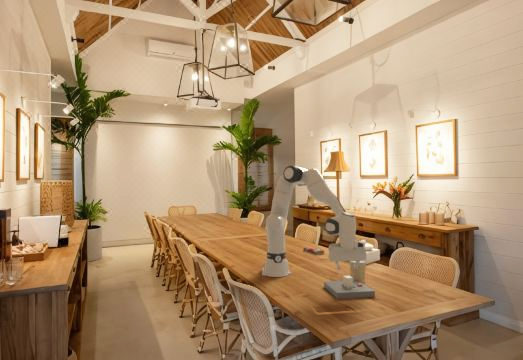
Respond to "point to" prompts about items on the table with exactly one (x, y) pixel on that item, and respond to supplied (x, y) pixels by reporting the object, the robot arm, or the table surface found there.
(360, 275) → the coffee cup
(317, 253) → the pencil case
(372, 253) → the butter dish
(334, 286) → the socket plate
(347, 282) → the plug
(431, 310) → the table surface
